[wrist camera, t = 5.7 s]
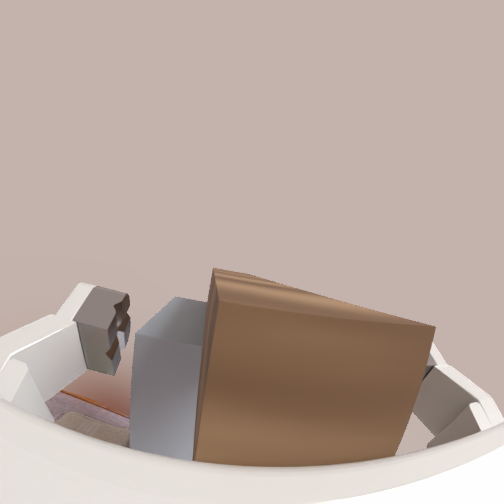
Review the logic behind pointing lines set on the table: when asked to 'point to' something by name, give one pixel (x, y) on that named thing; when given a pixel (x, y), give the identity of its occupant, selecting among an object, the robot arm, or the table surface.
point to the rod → (302, 377)
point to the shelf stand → (167, 379)
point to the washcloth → (95, 428)
